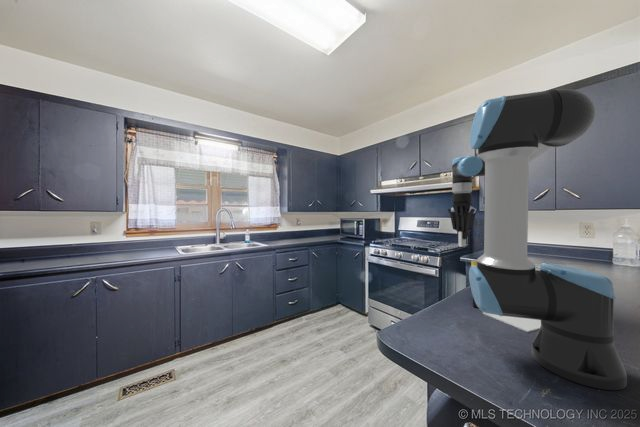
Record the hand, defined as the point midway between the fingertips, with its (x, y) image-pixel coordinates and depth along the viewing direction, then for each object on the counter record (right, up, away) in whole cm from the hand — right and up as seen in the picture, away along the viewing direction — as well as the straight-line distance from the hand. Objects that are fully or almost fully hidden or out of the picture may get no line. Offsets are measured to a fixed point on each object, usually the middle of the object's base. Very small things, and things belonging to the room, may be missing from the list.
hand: (462, 246), depth 105 cm
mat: (+7, -21, -23) cm, 32 cm away
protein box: (+4, -21, -10) cm, 24 cm away
